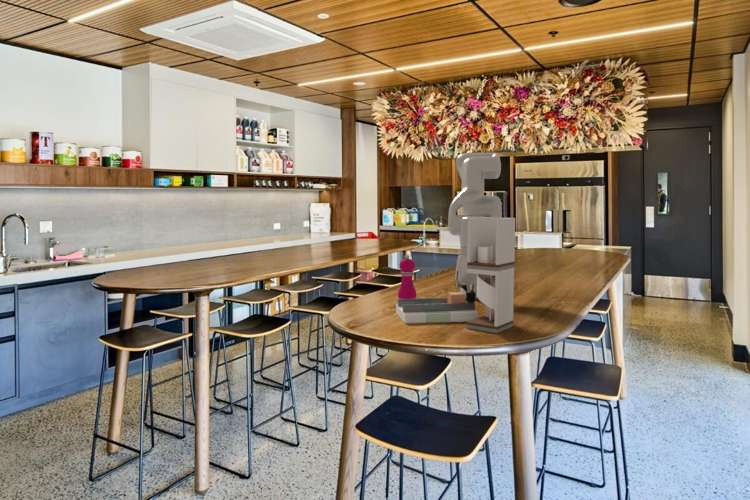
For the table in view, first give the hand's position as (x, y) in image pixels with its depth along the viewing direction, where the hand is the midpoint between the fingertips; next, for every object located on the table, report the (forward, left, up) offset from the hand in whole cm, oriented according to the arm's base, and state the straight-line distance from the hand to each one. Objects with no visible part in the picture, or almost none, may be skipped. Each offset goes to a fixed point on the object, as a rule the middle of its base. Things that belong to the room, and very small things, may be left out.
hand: (470, 303), depth 188 cm
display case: (-1, +18, -5) cm, 19 cm away
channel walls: (+13, 0, -1) cm, 13 cm away
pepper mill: (+19, -19, -5) cm, 27 cm away
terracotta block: (+5, 0, -1) cm, 5 cm away
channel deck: (+13, 0, -4) cm, 14 cm away
